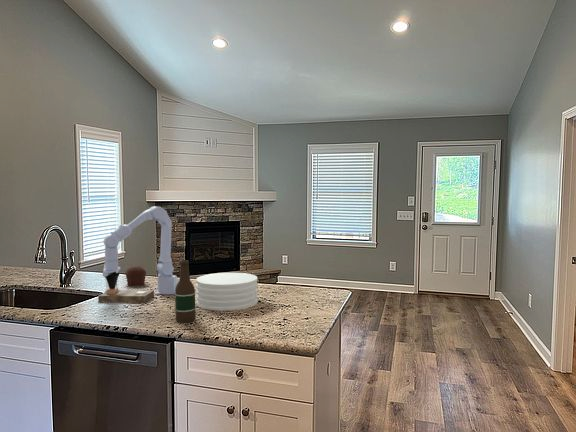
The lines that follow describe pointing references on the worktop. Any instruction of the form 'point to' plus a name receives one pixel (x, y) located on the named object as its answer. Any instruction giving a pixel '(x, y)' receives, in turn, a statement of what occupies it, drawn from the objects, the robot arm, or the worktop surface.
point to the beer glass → (107, 282)
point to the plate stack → (226, 291)
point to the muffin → (135, 276)
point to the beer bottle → (184, 296)
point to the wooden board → (126, 296)
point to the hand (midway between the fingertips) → (112, 288)
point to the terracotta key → (112, 291)
